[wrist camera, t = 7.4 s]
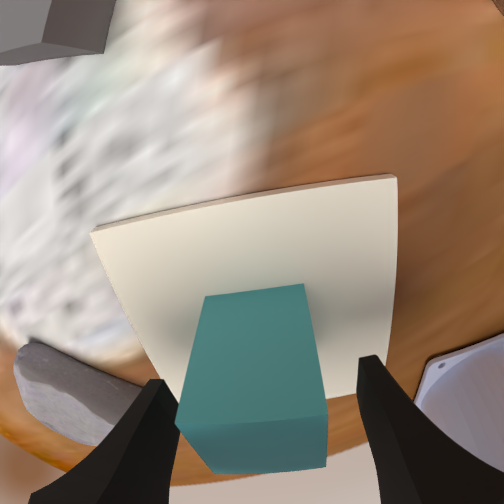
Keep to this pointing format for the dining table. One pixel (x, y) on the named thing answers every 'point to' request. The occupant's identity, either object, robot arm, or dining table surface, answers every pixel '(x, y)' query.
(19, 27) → the charcoal block
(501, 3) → the grey cylinder
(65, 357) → the stone block
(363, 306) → the coaster
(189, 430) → the teal block
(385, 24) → the dining table surface
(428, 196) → the dining table surface
